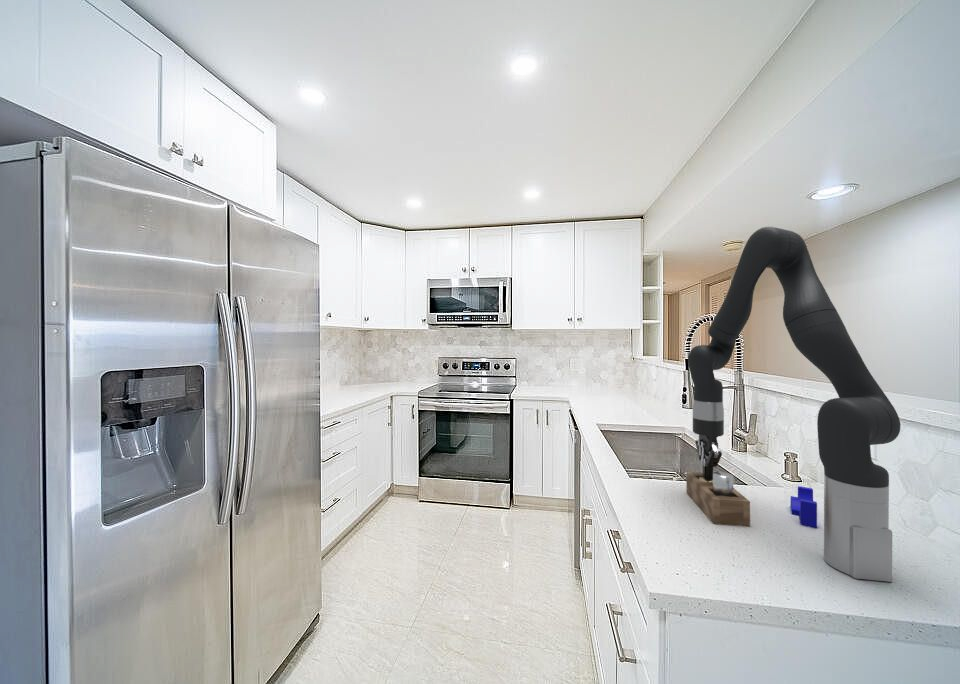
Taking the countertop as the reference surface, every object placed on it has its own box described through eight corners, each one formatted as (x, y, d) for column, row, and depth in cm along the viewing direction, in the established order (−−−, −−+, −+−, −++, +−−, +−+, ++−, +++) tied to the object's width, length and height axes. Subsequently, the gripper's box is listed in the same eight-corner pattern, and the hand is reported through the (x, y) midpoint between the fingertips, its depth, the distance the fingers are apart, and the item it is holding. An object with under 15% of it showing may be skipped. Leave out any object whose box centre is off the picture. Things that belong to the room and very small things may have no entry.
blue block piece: (790, 507, 106) (790, 484, 106) (812, 511, 104) (812, 488, 104) (792, 524, 97) (792, 499, 97) (817, 529, 94) (817, 503, 94)
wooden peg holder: (750, 526, 95) (750, 501, 95) (713, 523, 96) (713, 499, 96) (716, 494, 115) (716, 473, 115) (686, 492, 116) (686, 472, 116)
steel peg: (736, 500, 98) (736, 478, 98) (717, 499, 99) (717, 477, 99) (728, 493, 102) (728, 472, 102) (710, 492, 103) (710, 471, 103)
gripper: (733, 422, 103) (733, 489, 103) (713, 413, 116) (713, 472, 116) (702, 421, 104) (701, 487, 105) (685, 412, 118) (685, 470, 118)
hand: (707, 479), depth 110 cm, fingers closed
